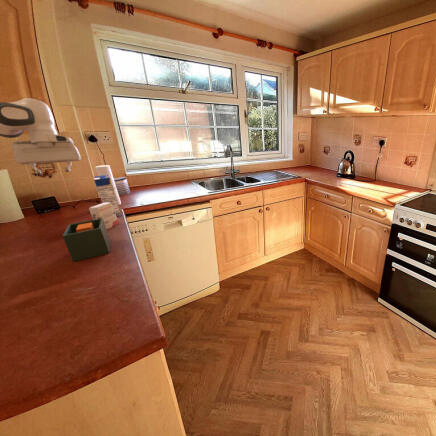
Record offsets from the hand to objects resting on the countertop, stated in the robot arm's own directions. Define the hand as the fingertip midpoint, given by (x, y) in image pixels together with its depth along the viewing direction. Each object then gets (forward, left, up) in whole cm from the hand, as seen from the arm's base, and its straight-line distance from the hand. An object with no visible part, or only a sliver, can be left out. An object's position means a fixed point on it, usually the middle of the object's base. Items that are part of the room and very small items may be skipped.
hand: (53, 172), depth 104 cm
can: (+17, +76, -30) cm, 84 cm away
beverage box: (+13, +24, -30) cm, 41 cm away
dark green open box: (+7, -23, -30) cm, 38 cm away
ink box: (+11, +4, -30) cm, 32 cm away
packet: (+7, -23, -29) cm, 37 cm away
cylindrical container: (+13, +47, -30) cm, 57 cm away
